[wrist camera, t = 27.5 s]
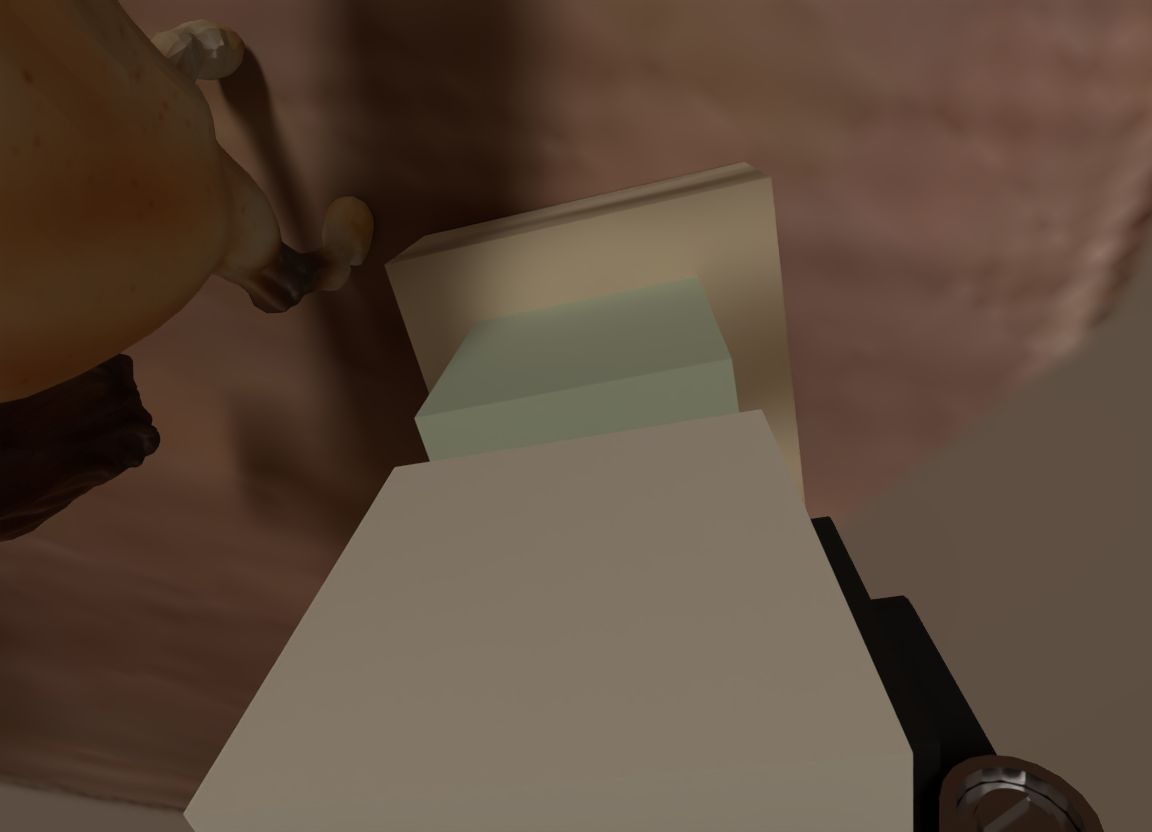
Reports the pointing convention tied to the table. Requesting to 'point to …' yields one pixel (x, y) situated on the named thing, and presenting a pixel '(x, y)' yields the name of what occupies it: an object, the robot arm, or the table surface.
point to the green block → (581, 372)
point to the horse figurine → (118, 234)
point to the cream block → (575, 657)
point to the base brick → (619, 275)
